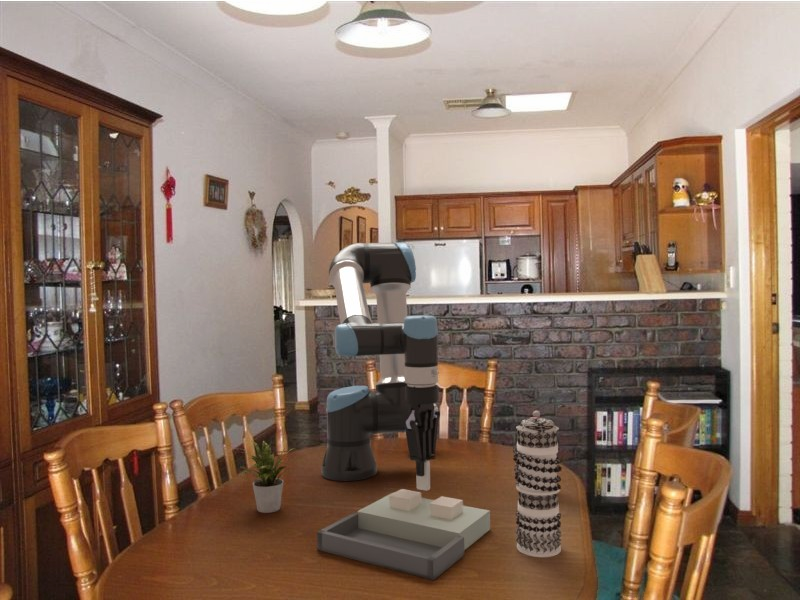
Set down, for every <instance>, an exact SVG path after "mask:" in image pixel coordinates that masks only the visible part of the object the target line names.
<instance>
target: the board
mask: <svg viewBox="0 0 800 600" xmlns="http://www.w3.org/2000/svg"><path fill="white" fill-rule="evenodd" d="M393 493H395V492H393V491H392V492H391V493H389V494H388V495H385V496H383V497H381V499H378V500H376V501H374V502H372V503H371V504H368V505H366V506H365V507H363V508H361V509H359V510H357V512H356V514H358V528H360V529H365V530H369V531H373V532H378V533H382V534H386V535H391V536H395V537H399V538H404V539H408V540H412V541H417V542H421V543H425V544H430V545H434V546H438V547H444V546H445V545H447V544H448V543H449V542H451V541H452V540H453V539H455V538H456V537H457V536H462V537H464V551H465V550H467V549H468V548H469V547H470V546H472V545H473V544H474V543H475V542H477V540H479V539H481V537H483V536H484V535H485V534H487V533H488V532H489V531H490V530H491V511H490V510H489V509H483V508H478V507H472V506H467V505H463V512H462V513H461V514H459V515H458V516H456V517H455V518H454V519H452V520H451V519H446V518H441V517H436V516H431V515H430V503H431V502H433V501H435V500H436V499H430V498H425V497H421V505H419V506H417V507H416V508H414V509H412V510H410V511H406V510H401V509H397V508H392V507H389V495H391V494H393Z"/></svg>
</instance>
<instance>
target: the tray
mask: <svg viewBox="0 0 800 600" xmlns="http://www.w3.org/2000/svg"><path fill="white" fill-rule="evenodd" d="M316 539H317V541H316V549H317V550H318V551H321V552H324V553H328V554H333V555H335V556H339V557H344V558H347V559H351V560H355V561H358V562H363V563H366V564H369V565H374V566H377V567H381V568H385V569H388V570H389V569H390V570H393V571H397V572H400V573H405V574H408V575H411V576H416V577H418V578H419V577H420V578H423V579H426V580H427V579H428V580H431V581H435V580H436V579H437V578H438V577H440V575H442V574H443V573H444V572H445V571H447V570H448V569H449V568H450V567H452V566H453V565H454V564H455V563H456V562H458V561H459V560H461V559H462V558H463V557H464V556H465V550H464V537H462V536H457V537H456V538H455V539H453V540H452V541H451V542H449V543H448V544H447V545H445V546H444V547H438V546H434V545H430V544H425V543H421V542H417V541H412V540H408V539H404V538H399V537H395V536H391V535H386V534H382V533H378V532H373V531H369V530H365V529H360V528H358V514H357V512H353V513H351V514H349V515H347V516H345V517H343V518H341V519H339V520H337V521H335V522H333V523H331V524H329V525H328V526H326V527H324V528H322V529H319V530H318V531H317V532H316Z"/></svg>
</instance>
